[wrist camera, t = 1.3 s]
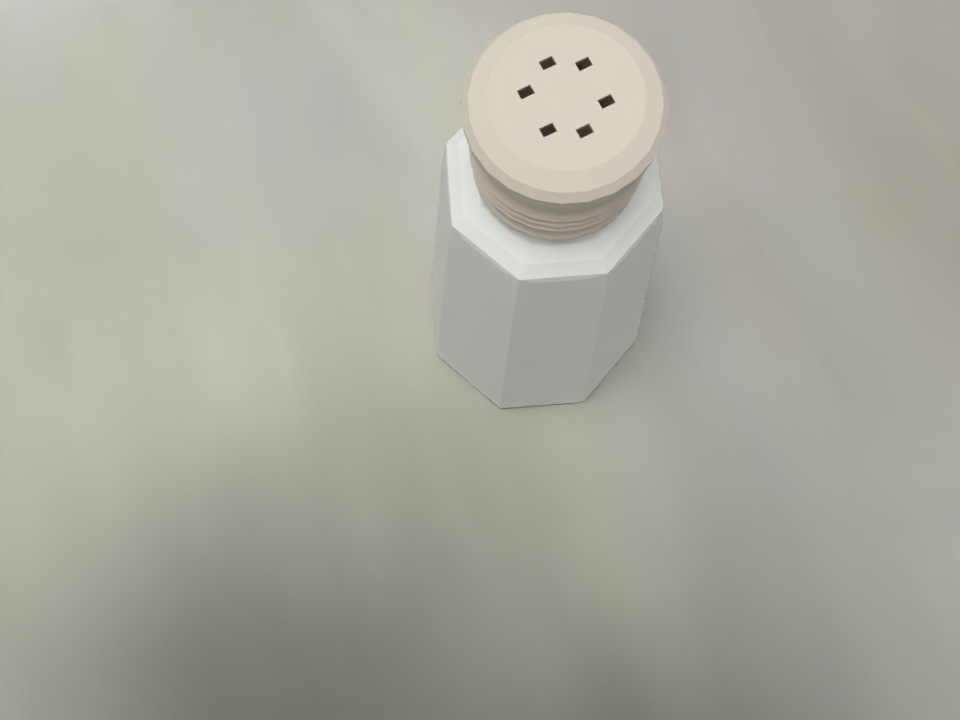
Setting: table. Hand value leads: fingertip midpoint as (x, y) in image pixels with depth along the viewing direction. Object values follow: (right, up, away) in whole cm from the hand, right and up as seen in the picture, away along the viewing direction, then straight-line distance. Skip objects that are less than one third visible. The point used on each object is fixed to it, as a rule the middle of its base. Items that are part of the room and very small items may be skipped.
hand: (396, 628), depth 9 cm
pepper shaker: (+2, +4, +14) cm, 15 cm away
